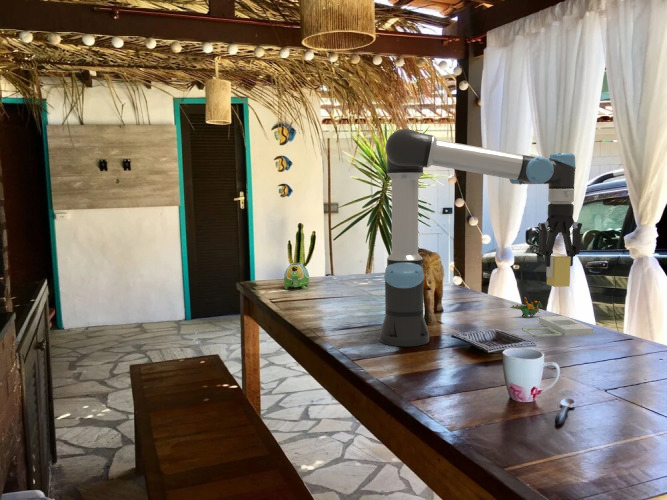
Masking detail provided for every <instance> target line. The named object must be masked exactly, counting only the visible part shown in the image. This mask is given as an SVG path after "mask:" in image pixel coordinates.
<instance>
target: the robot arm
mask: <svg viewBox="0 0 667 500" xmlns="http://www.w3.org/2000/svg"><path fill="white" fill-rule="evenodd" d="M385 155H386V175H387V176H388V177H389V179H390V180H391V253H390V254H389V255H388V256H387V258H386V261H387V263H386V264H387V265H386V268H385V271H384V299H385V301H384V302H385V304H384V308H385V311H384V315H385V316H384V319H383V322H382V326H381V327H380V328H381V329H380V332H379V341H380V343H383V344H385V345H389V346H395V347H418V346H423V345H426V344H428V343H429V342H430V332H429V328H428V326H427V323H426V320H425V317H424V279H425V273H424V263H423V261H424V260H423V259H424V258H423V257H422V256H421V254H419V179H420V178H421V177H422V176H423V175H424V168H429V167H431V166H435V167H440V168H447V169H451V170H458V171H463V172H470V173H475V174H480V175H487V176H492V177H498V178H504V179H509V182H510V184H511V185H512V184H513V185H520V186H521V185H548V195H547V197H548V198H547V201H548V205H547V219H546V221H544V222H538V224H537V227H538V230H539V232H538V233H539V236H538V237H539V238H538V254H539V255H542V256H544V259H543V260H544V261H543V262H544V263H543V265H544V267H546V275H545V276H546V278H547V277H550V278H553V257H551V256H552V253H553V251H554V246H555V243H556V239H557V236H558V235H559V234H561V235H562V239H563V244H564V248H565V253H566V255H563V256H564V257H569V258H571V259H570V267H573V265H574V257H576V256H577V255H579V254H580V251H581V249H580V248H581V247H580V246H581V245H580V244H581V229H582V226H583V224H582V222H577V221H575V219H574V218H573V217H574V209H575V207H574V206H575V205H574V204H573V203H574V202H575V200H574V199H575V181H576V180H575V179H576V156H575V154H574V153H572V152H555V153H553V152H552V153H551V154H550V155H549V158H547V157H543V156H532V155H527V154H526V155H525V154H520V153H514V152H510V151H509V152H508V151H504V150H497V149H493V148H492V149H491V148H485V147H480V146H474V145H469V144H463V143H457V142H452V141H447V140H440V139H437V137H436V136H435V135H434V134H433V135H432V134H428V133H423V132H419V131H415V130H413V129H409V128H403V129H402V128H401V129H398V130H396V131H394V132H393V133H391V134H390V136H389V137H388V139H387V140H386V143H385ZM548 227H549V231H548V232H547V229H548ZM571 228H572V233H571ZM571 234H572V238H571ZM547 237H548V238H547Z"/></svg>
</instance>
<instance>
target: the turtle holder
mask: <svg viewBox="0 0 667 500" xmlns="http://www.w3.org/2000/svg"><path fill="white" fill-rule="evenodd" d="M308 271H309V270H308V269H307V268H306V266H305V265H304V264H303V263H302V262H292V263H289V265H288V266H287V268H286V269H285V271H284V275H283V276H284V277H283V285H284V287H283V288H285V289H284V290H288V289H289V288H298V287H301V289H302V290H307V289H309V288H308V287H307V286H309V284H310V275H309V272H308Z"/></svg>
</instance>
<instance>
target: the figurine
mask: <svg viewBox="0 0 667 500" xmlns="http://www.w3.org/2000/svg"><path fill="white" fill-rule="evenodd" d="M523 299H524V300H523V302H524V304H520V303H519V304H518V303H517V304H516V305H512V306H509V308H510V309H512V310H513V309H514V310H520V311H521V312H522V315H521V317H522V318H524V319H526V317H528V316H529V317H530V318H531V317H532V318H534V316H536V314H538V313H540V314H541V311H540V310H539V309H540V308H543V305H542V303H541V301H537V299H536V300H534V301H531V302H530V303H529V301H528V299H527V297H526V296H525V297H524V298H523ZM534 303H535V306H534Z"/></svg>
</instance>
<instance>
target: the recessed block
mask: <svg viewBox="0 0 667 500" xmlns="http://www.w3.org/2000/svg"><path fill="white" fill-rule="evenodd" d="M538 324H541V325H542V326H545V327H550V328H552V329H554V330H556V331H558V332H560V333H562V334H563V336H564V337H571V336H572V337H574V336H576V337H577V336H593V335H594V327H592V326H589V325H586V324H584V323H582V322H580V321H577V320H576V319H573V318H570V317H568V316H566V315H554V316H553V315H552V316H538Z"/></svg>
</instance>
